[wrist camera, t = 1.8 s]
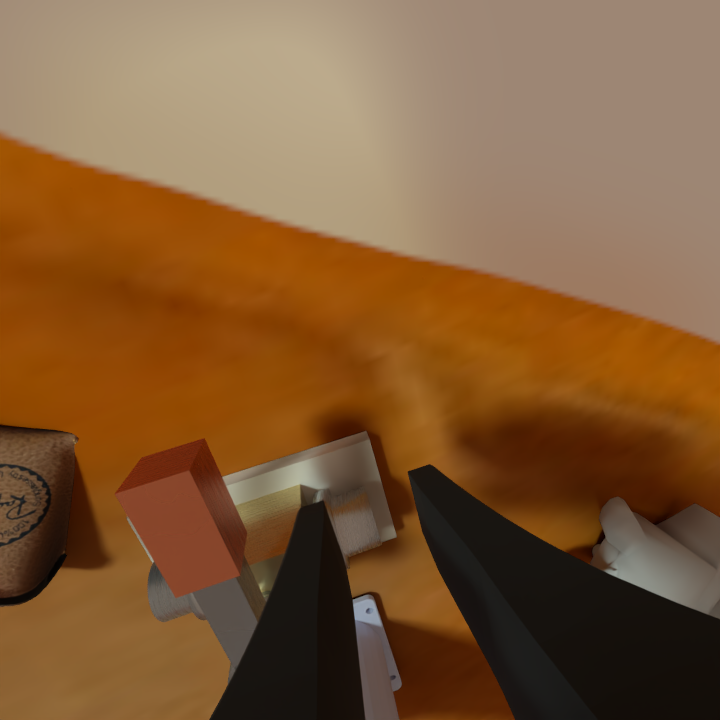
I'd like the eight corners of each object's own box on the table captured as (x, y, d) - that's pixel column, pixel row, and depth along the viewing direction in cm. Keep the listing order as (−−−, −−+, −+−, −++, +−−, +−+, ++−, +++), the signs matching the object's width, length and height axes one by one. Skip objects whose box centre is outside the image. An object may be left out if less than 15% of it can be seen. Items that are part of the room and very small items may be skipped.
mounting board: (366, 430, 20) (369, 439, 19) (392, 525, 22) (396, 536, 22) (134, 505, 19) (126, 518, 18) (186, 596, 21) (182, 612, 20)
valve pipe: (356, 460, 20) (378, 531, 15) (374, 519, 21) (400, 604, 16) (160, 524, 19) (110, 625, 14) (192, 582, 20) (159, 694, 15)
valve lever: (303, 644, 15) (305, 695, 13) (246, 666, 14) (240, 720, 13) (210, 436, 11) (196, 468, 10) (135, 459, 11) (107, 496, 10)
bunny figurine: (709, 650, 26) (577, 654, 20) (639, 588, 31) (516, 576, 25) (789, 548, 24) (670, 520, 19) (703, 497, 29) (585, 463, 23)
